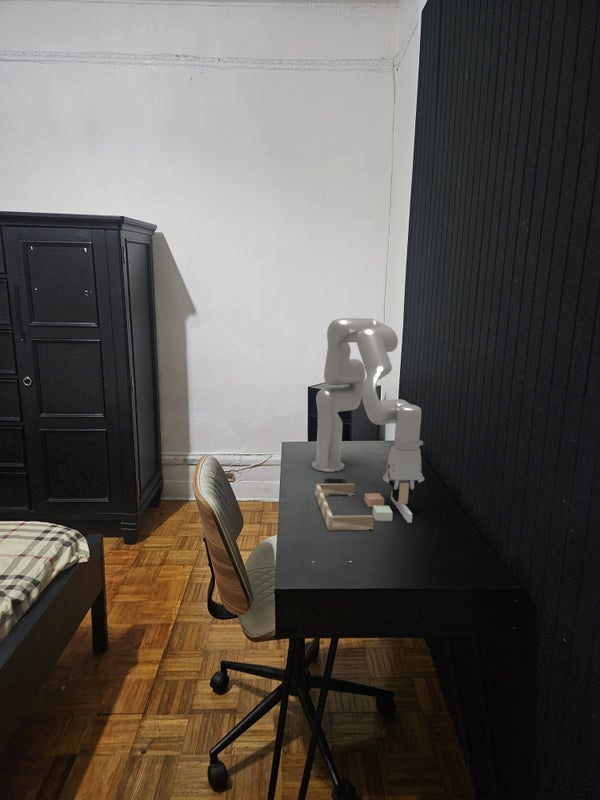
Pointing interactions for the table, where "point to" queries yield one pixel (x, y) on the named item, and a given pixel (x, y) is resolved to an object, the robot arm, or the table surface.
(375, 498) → the terracotta tile
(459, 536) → the table surface
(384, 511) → the pale green square block
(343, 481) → the phone
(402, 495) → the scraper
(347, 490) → the box
